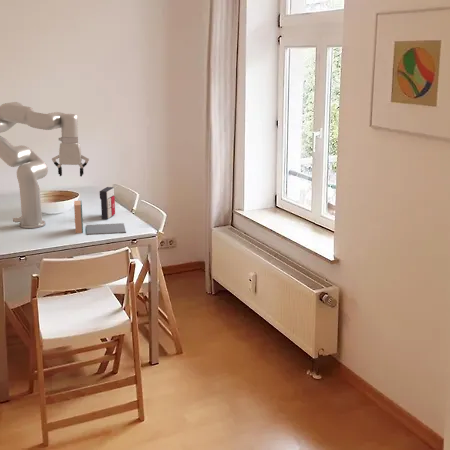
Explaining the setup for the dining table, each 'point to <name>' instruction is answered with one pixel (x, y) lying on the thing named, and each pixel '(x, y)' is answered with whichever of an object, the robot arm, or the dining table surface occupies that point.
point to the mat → (106, 228)
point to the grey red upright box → (107, 202)
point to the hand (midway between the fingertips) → (71, 175)
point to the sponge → (78, 216)
